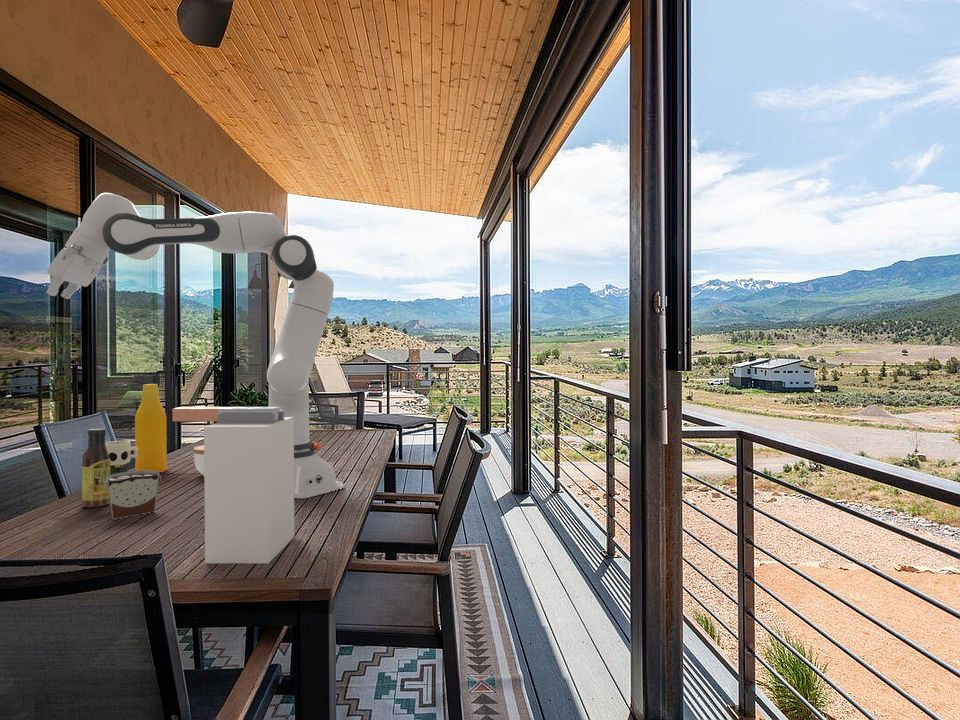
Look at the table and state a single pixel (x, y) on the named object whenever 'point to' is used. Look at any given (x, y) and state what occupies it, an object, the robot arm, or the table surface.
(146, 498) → the half round cake
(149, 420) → the yellow bottle
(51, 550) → the table surface
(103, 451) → the sauce bottle
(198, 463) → the lidded bowl
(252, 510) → the stand
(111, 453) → the character mug
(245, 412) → the knife
